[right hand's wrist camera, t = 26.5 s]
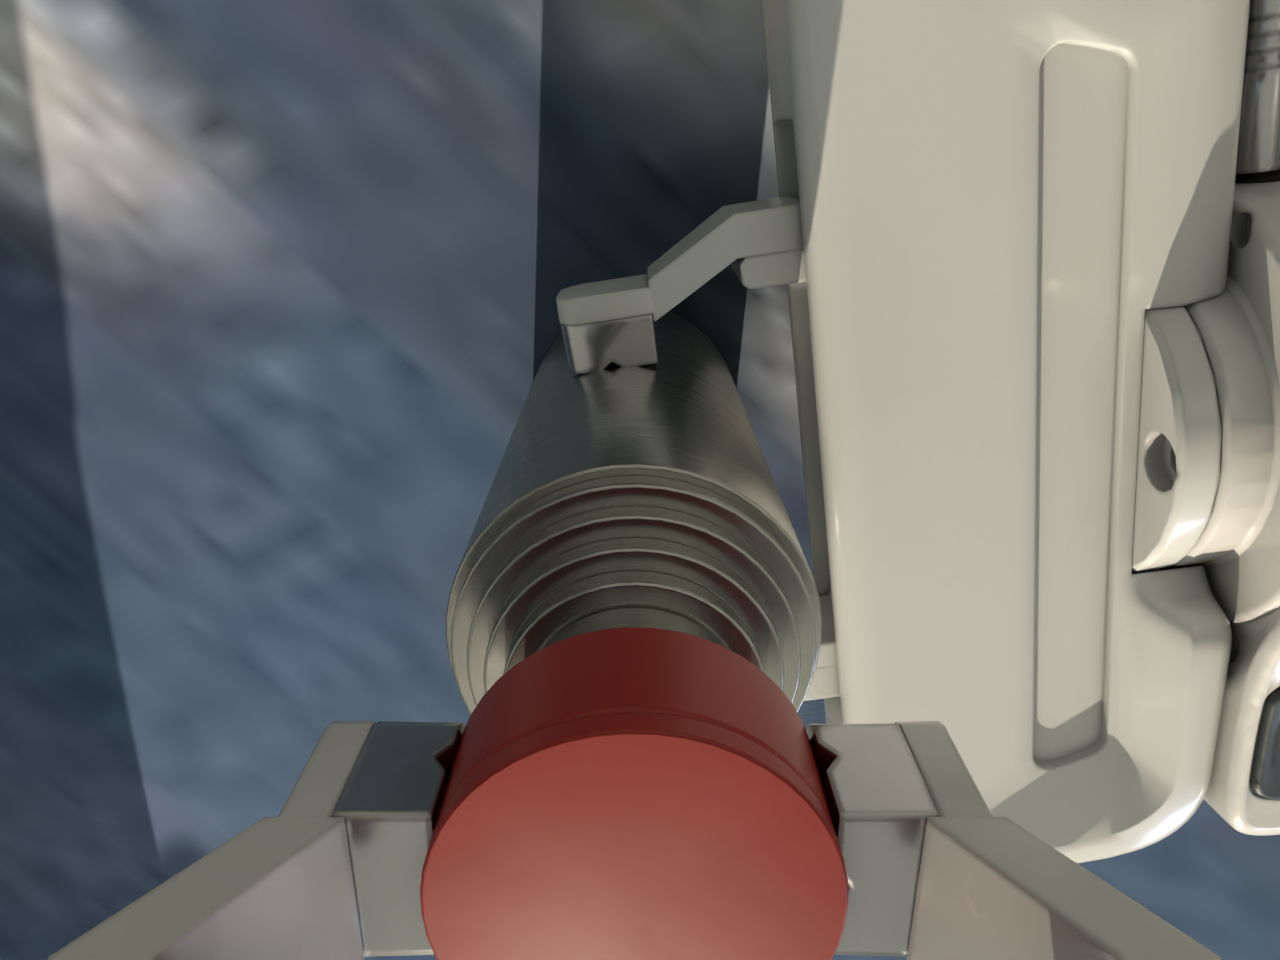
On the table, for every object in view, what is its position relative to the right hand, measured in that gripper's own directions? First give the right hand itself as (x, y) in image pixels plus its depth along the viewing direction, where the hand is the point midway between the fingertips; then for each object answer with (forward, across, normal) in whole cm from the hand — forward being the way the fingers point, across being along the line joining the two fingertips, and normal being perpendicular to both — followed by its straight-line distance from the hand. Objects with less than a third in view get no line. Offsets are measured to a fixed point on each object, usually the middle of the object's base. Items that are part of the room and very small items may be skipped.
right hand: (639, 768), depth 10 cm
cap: (-2, 0, 0) cm, 2 cm away
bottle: (+15, 0, 0) cm, 15 cm away
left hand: (+9, -1, 0) cm, 9 cm away
